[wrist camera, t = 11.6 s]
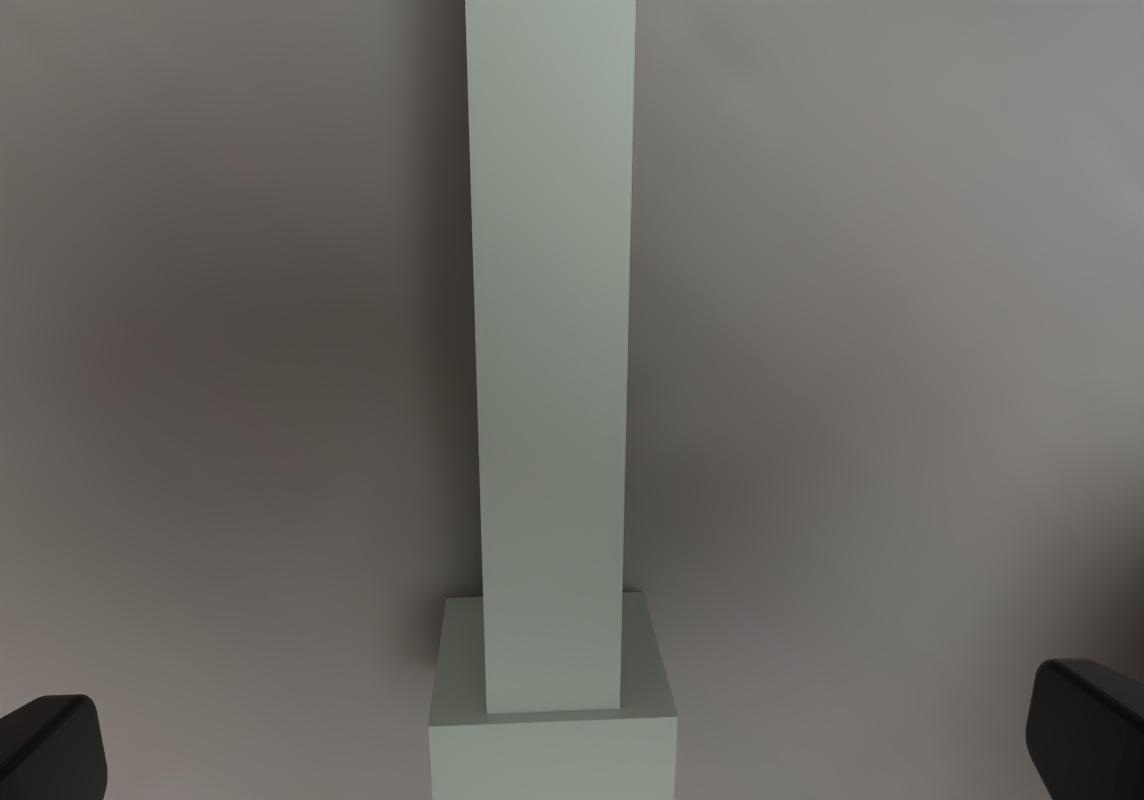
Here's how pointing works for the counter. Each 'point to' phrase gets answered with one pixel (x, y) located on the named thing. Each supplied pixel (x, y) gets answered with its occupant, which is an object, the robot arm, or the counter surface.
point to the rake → (551, 428)
